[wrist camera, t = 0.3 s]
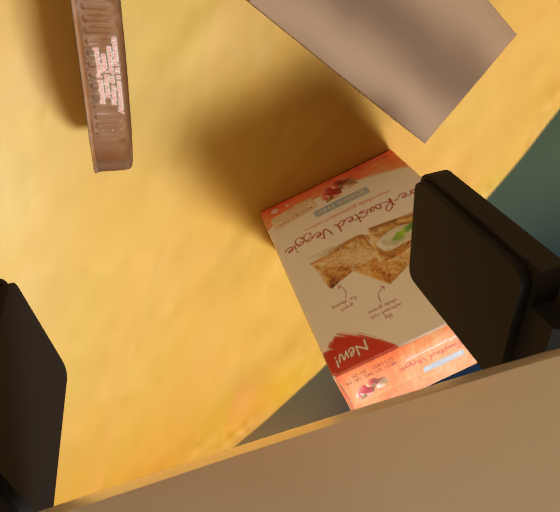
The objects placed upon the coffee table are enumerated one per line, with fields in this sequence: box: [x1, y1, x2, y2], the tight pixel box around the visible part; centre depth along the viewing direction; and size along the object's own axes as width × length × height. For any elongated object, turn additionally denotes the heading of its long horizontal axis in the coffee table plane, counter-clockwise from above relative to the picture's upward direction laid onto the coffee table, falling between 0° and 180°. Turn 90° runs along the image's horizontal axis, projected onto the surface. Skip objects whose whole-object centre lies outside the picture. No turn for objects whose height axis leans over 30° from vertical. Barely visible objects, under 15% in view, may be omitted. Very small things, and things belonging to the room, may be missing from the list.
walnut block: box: [246, 0, 517, 143], centre depth 35 cm, size 10×18×6 cm, turn 53°
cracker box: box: [261, 150, 477, 410], centre depth 39 cm, size 14×6×21 cm, turn 111°
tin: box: [71, 0, 133, 173], centre depth 31 cm, size 15×3×8 cm, turn 174°
